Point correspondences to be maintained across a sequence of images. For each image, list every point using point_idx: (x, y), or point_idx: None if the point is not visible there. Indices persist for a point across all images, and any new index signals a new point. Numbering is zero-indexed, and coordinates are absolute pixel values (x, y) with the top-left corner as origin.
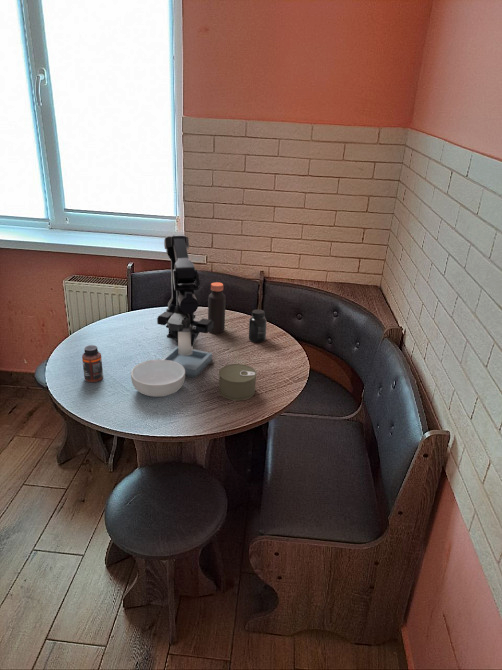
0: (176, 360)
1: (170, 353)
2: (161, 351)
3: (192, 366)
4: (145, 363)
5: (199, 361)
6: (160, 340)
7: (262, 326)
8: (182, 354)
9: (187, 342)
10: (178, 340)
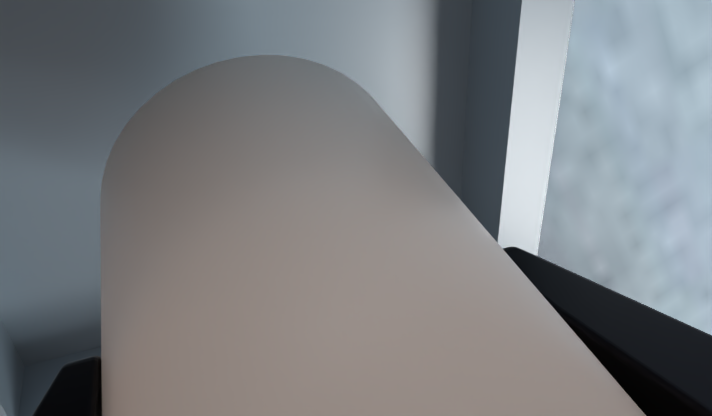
0: (380, 77)
1: (525, 111)
2: (639, 186)
3: (20, 55)
4: None
5: (57, 249)
6: (699, 326)
7: None
8: (238, 71)
9: (155, 381)
10: (524, 283)
